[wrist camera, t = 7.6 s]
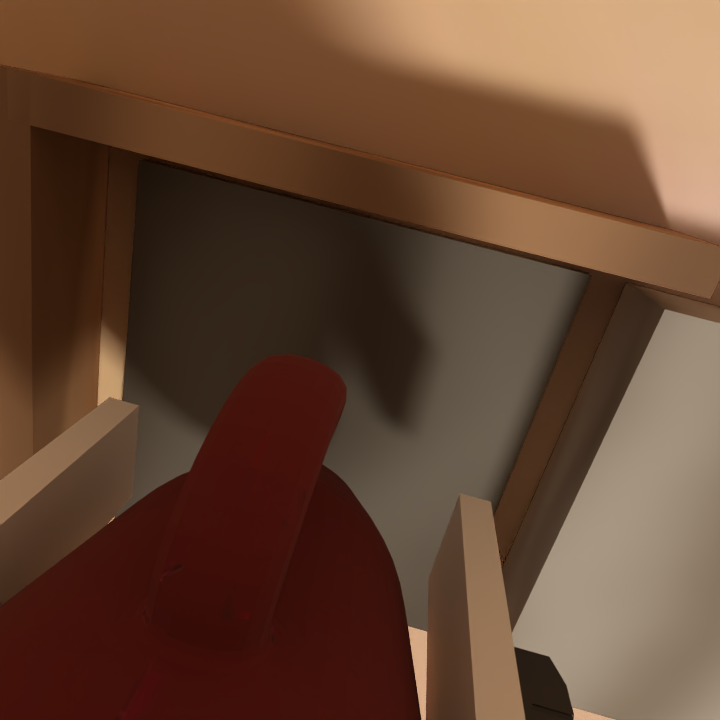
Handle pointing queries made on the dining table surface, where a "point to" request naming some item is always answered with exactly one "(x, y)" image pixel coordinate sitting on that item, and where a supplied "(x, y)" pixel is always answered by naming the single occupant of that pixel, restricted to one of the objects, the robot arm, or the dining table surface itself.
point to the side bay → (389, 360)
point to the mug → (225, 585)
